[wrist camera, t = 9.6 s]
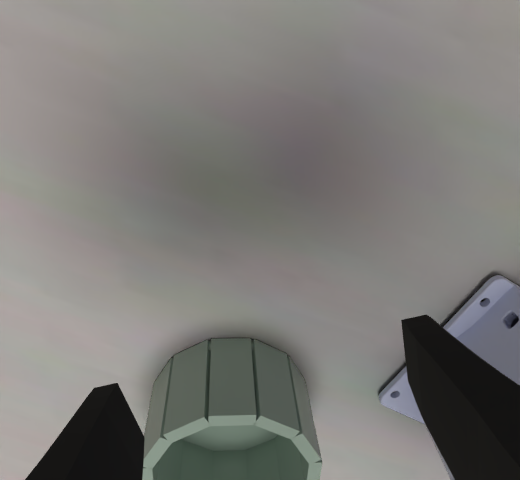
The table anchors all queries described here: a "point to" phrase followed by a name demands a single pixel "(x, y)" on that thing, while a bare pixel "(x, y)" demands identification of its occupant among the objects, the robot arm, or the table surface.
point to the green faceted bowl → (230, 416)
